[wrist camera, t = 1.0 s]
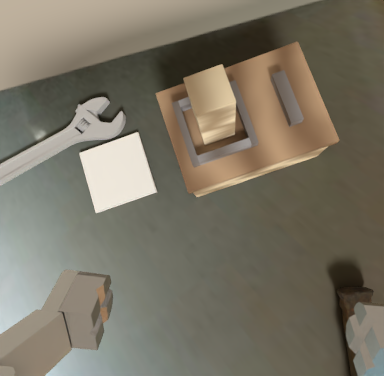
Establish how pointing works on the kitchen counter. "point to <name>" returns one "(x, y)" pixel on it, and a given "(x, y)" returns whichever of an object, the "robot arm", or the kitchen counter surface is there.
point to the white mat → (117, 172)
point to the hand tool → (352, 311)
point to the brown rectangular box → (252, 123)
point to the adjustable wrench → (66, 138)
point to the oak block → (212, 103)
